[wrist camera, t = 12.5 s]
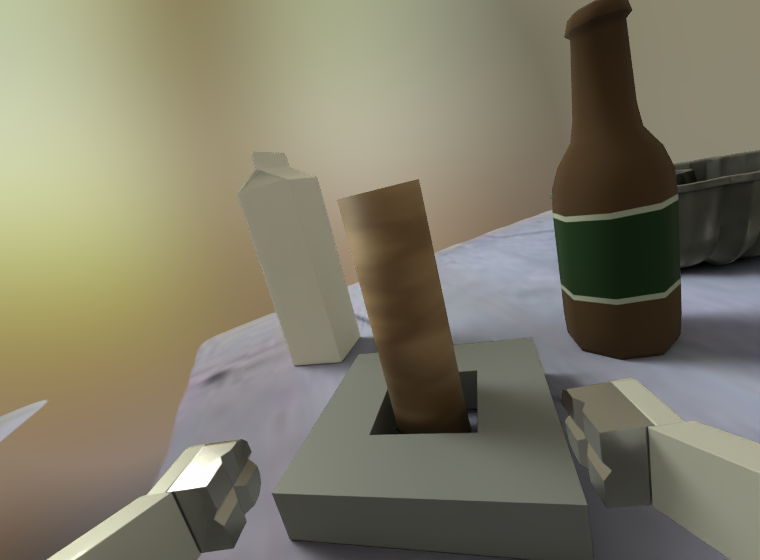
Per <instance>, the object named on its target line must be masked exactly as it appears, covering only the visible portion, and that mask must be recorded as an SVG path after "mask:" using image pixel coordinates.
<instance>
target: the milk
mask: <svg viewBox="0 0 760 560" xmlns="http://www.w3.org/2000/svg"><path fill="white" fill-rule="evenodd" d="M252 159H253V162H254V165H255V170H254V172H253V173H252V174H251V176H250V177H249V178H248V180H247V181H246V182H245V184H244V185H243V186H242V188H241V189H240V190H239V192H238V193H237V195H238V198H239V201H240V205H241V207H242V211H243V214H244V217H245V220H246V223H247V226H248V229H249V231H250V234H251V238H252V241H253V244H254V247H255V250H256V253H257V256H258V259H259V262H260V265H261V268H262V271H263V274H264V277H265V280H266V283H267V286H268V289H269V292H270V295H271V298H272V301H273V304H274V307H275V310H276V313H277V316H278V319H279V322H280V325H281V329H282V332H283V335H284V338H285V341H286V344H287V347H288V350H289V353H290V356H291V359H292V362H293V365H294V366H296V365H310V364H324V363H338V362H342V361H343V360H344V358H345V357H346V356H347V354H348V353H349V352H350V350H351V349H352V347H353V346H354V345H355V343H356V342H357V341H358V339H359V338H360V333H359V329H358V325H357V322H356V318H355V314H354V311H353V307H352V303H351V299H350V296H349V292H348V288H347V285H346V281H345V278H344V274H343V270H342V266H341V263H340V259H339V255H338V252H337V248H336V244H335V241H334V237H333V234H332V230H331V226H330V222H329V219H328V215H327V212H326V208H325V204H324V200H323V197H322V193H321V189H320V186H319V182H318V178H317V177H316V176H313V175H310V174H307V173H304V172H301V171H298V170H295V169H292V168H290V167H289V164H288V161H287V157H286V155H285V154H284V153H270V152H252Z"/></svg>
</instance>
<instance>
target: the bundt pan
mask: <svg viewBox="0 0 760 560" xmlns="http://www.w3.org/2000/svg"><path fill="white" fill-rule="evenodd" d="M674 166H675V172H676V180H677V188H678V202H679V238H680V268H684V267H689V266H693V265H695V264H698V263H700V262H702V261H706V262H708V263H711V264H715V265H725V264H729V263H731V262H733V261H735V260H736V259H737V258H741V257H755V256H760V150H757V151H750V152H744V153H737V154H731V155H726V156H719V157H711V158H705V159H699V160H695V161H689V162H682V163H676V164H674ZM550 196H551V199H552V194H551V195H550Z"/></svg>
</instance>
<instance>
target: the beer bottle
mask: <svg viewBox="0 0 760 560" xmlns="http://www.w3.org/2000/svg"><path fill="white" fill-rule="evenodd" d="M631 11H632V8H631V6H630V4H629V1H628V0H596V1H593V2H592V3H590V4H588V5H586V6H585V7H582V8H581V9H579V10H578V11H576V12H575V13H574V14H573V15H572V16H571V18H570V19H569V20H568V21H567V26H566V31H565V38H567V39H569V40H570V46H571V79H572V80H571V81H572V82H571V83H572V117H573V122H572V133H571V143H570V145H569V147H568V149H567V151H566V153H565V155H564V157H563V159H562V161H561V162H560V164H559V166H558V168H557V172H556V176H555V180H554V184H553V188H552V205H553V220H554V228H555V237H556V246H557V254H558V263H559V272H560V280H561V289H562V298H563V306H564V314H565V320H566V325H567V330H568V333H569V334H570V336H571V337H572V338H573V339H574V341H575V342H576V343H577V344H578V346H579V347H580V348H581V349H582V350H583V351H586V352H591V353H595V354H600V355H604V356H608V357H613V358H617V359H630V358H638V357H647V356H655V355H663V354H664V353H665V352H666V351H667V350H668V349H669V348H670V346H671V345H672V344H673V343H674V342H675V341H676V340H677V338H678V337H679V335H680V331H681V314H682V311H681V275H680V238H679V202H678V188H677V180H676V172H675V166H674V164H673V163H672V161H671V159H670V157H669V155H668V153H667V151H666V149H665V147H664V146H663V144H662V143H660V142H659V140H658V139H656V138H655V137H654V136H653V135H652V134H651V133H650V132H649V131H648V130H647V129H646V128H645V127H644V126H643V123H642V120H641V116H640V112H639V109H638V105H637V100H636V93H635V84H634V77H633V69H632V61H631V53H630V46H629V37H628V29H627V22H626V18H627V16H628V15H629V14H630V12H631Z"/></svg>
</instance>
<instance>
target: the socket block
mask: <svg viewBox="0 0 760 560" xmlns="http://www.w3.org/2000/svg"><path fill="white" fill-rule="evenodd" d="M453 347H454V352H455V356H456V361H457V366H458V371H459V376H460V380H461V385H462V390H463V395H464V400H465V405H466V409H478V433H441V434H395V431H396V428H397V422H396V419H395V415H394V411H393V407H392V404H391V400H390V396H389V392H388V389H387V385H386V381H385V377H384V373H383V370H382V366H381V362H380V358H379V355H378V352H377V353H366V354H358V356H357V357H356V359H355V361H354V362H353V364H352V365H351V367H350V369H349V370H348V372H347V373H346V375H345V377H344V378H343V380H342V381H341V383H340V385H339V386H338V388H337V390H336V391H335V393H334V394H333V396H332V398H331V399H330V401H329V402H328V404H327V406H326V407H325V409H324V410H323V412H322V414H321V415H320V417H319V418H318V420H317V422H316V423H315V425H314V426H313V428H312V430H311V431H310V433H309V435H308V436H307V438H306V439H305V441H304V443H303V444H302V446H301V447H300V449H299V451H298V452H297V454H296V455H295V457H294V459H293V460H292V462H291V463H290V465H289V467H288V468H287V470H286V471H285V473H284V475H283V476H282V478H281V480H280V481H279V483H278V484H277V486H276V488H275V489H274V491H273V492H272V495H273V497H274V500H275V502H276V505H277V508H278V510H279V513H280V515H281V518H282V521H283V523H284V526H285V528H286V531H287V533H288V536H289V539H292V540H304V541H316V542H328V543H340V544H352V545H364V546H376V547H388V548H400V549H412V550H424V551H436V552H448V553H460V554H472V555H484V556H496V557H508V558H520V559H532V560H594V557H593V548H592V539H591V530H590V522H589V513H588V505H587V502H586V499H585V496H584V493H583V490H582V487H581V484H580V481H579V478H578V474H577V471H576V468H575V465H574V462H573V459H572V456H571V453H570V450H569V447H568V444H567V441H566V438H565V435H564V432H563V429H562V426H561V423H560V420H559V417H558V414H557V411H556V408H555V405H554V402H553V399H552V396H551V393H550V390H549V387H548V384H547V381H546V378H545V375H544V372H543V369H542V366H541V363H540V360H539V357H538V354H537V351H536V348H535V345H534V342H533V339H532V338H521V339H511V340H501V341H490V342H480V343H470V344H459V345H453Z"/></svg>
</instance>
